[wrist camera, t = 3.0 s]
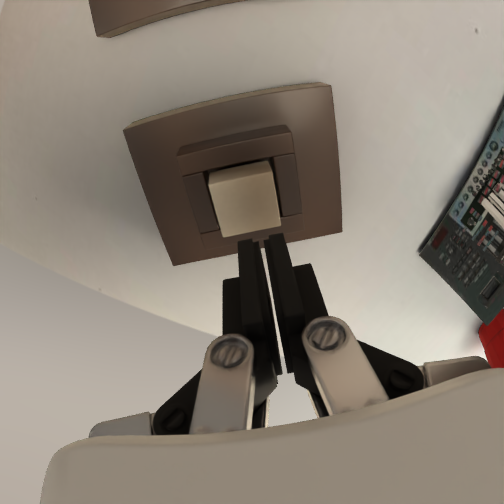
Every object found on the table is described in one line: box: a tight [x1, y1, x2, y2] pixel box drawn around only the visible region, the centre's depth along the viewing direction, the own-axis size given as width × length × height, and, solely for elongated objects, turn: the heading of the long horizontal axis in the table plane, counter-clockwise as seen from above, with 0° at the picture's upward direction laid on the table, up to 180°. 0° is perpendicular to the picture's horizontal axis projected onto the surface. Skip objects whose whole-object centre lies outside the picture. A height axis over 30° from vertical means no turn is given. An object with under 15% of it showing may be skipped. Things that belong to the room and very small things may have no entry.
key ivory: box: [208, 161, 281, 237], centre depth 17 cm, size 3×3×2 cm
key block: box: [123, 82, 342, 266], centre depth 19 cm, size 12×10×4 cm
